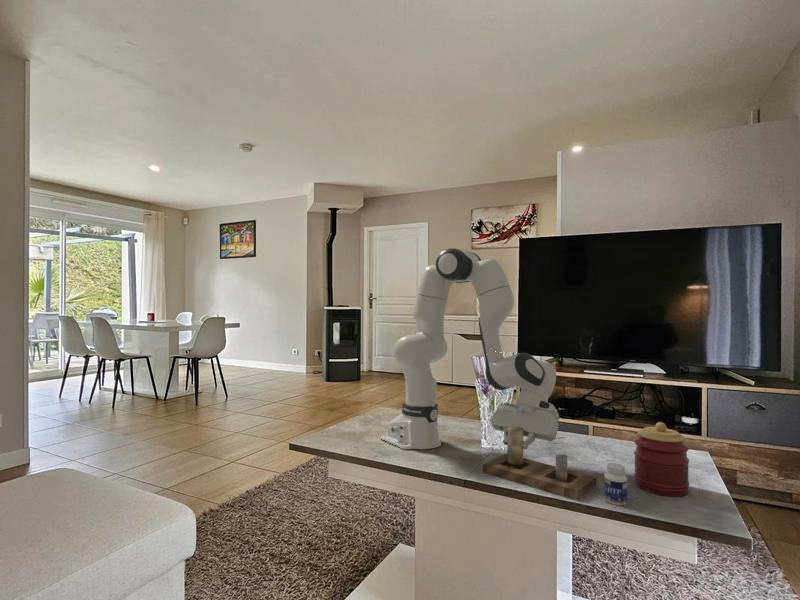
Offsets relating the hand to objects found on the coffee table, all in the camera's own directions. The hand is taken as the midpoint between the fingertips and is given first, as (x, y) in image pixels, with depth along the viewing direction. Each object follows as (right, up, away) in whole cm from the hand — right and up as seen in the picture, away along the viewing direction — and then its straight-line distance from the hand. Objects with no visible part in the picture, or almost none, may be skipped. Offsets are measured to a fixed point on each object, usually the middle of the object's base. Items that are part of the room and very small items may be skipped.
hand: (514, 445), depth 132 cm
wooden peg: (0, -5, 0) cm, 5 cm away
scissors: (+18, -10, +38) cm, 44 cm away
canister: (+37, -8, -10) cm, 40 cm away
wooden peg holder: (+5, -8, -4) cm, 11 cm away
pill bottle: (+21, -8, -19) cm, 29 cm away
